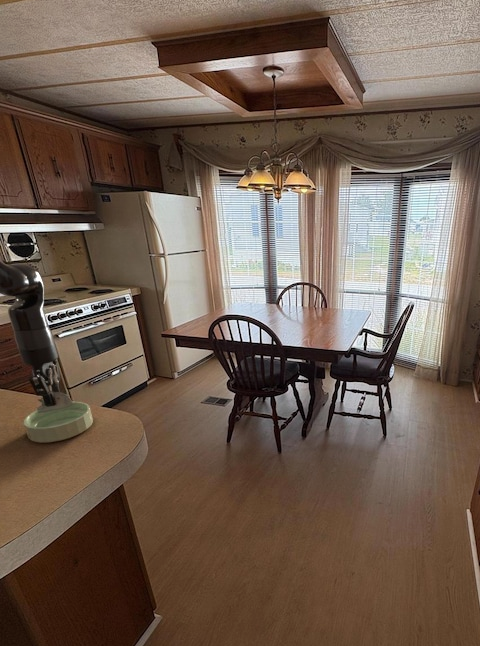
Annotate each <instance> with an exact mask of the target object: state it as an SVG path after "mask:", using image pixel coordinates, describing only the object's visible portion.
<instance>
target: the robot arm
mask: <svg viewBox="0 0 480 646" xmlns="http://www.w3.org/2000/svg"><path fill="white" fill-rule="evenodd" d="M0 295H3V296H6V297H14V302H13V304H11V305H10V306H9V307H8V309H7V314H8V318H9V321H10V324H11V327H12V330H13V336H14V340H15V343H16V346H17V349H18V352H19V353H18V354H19V356H20V358H21V362H22V363H23V364H24V365H26V366H31V367H32V376H30V377H28V381H29V383H30V385H31V387H32V389H33V390H34V392H35V394H36V396H37V397H39V396H41V398H43V400H44V403H45V406H47V407H49V406H54V405H55V404H56V402H55V399H54V396H53V393H52V392H60V393H61V390H60V386H59V384H60V381H61V375H60V370H59V363H58V359H59V354H58V351H57V347H56V343H55V340H54V336H53V333H52V331H51V328H50V326H49V323H48V320H47V316H46V313H45V310H44V308H45V307H44V306H45V285H44V280H43V278H42V276H41V274H40V273H39V271H38V270H37V269H35V267H34V266H31V265H30V264H26V263H13V264H8V265H6V264H5V263H3V262H2V261H0Z"/></svg>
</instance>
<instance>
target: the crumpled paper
mask: <svg viewBox="0 0 480 646" xmlns="http://www.w3.org/2000/svg"><path fill="white" fill-rule="evenodd" d="M52 393H53V396H54V399H55V402H56V404H55V405H54V406H49V407H47V406H45V403H44V400H43V397H40V398H39V399H37V401H38V402H40V403H41V404H40V405H39V406H37V407H35V408H36V410H37V411H38V413H42V412H49V411H54V410H60V409H63V408H67V407H70V406H73V404H72V402H73V400H72V398H70V396H69V395H68V394H66V393H64V392H61V391H60V392H52Z"/></svg>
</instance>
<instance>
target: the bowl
mask: <svg viewBox="0 0 480 646" xmlns="http://www.w3.org/2000/svg"><path fill="white" fill-rule="evenodd" d="M72 404H73V406H70V407H67V408H63V409H60V410H54V411H49V412H42V413H38V411H37V409H36V410H34V411H32V412H31V413H29V414H28V415H26V416H25V418H24V420H23V427H24V430H25V432H26V435H27V438H28V439H29V440H31V442H35V443H54V442H60V441H63V440H68V439H70V438H72V437H75V436H77V435H80V434H82V433H83V432H85V431H87V430H88V429H89V428H90V427H91V426H93V422H94V418H93V415H92V411H91V407H90V405H89V404H88V403H86V402H83V401H72Z"/></svg>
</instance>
